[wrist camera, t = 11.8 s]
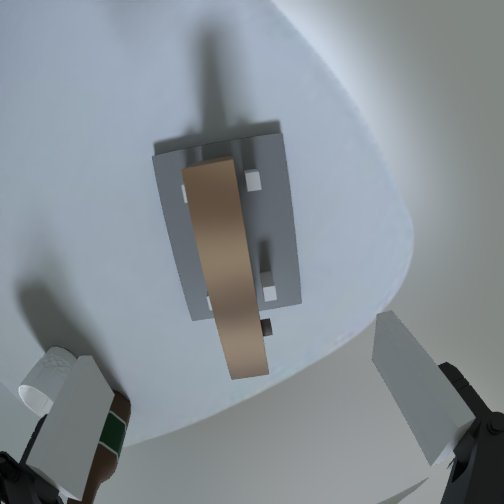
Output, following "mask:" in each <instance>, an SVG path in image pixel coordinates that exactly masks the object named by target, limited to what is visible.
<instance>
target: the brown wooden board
mask: <svg viewBox="0 0 504 504" xmlns="http://www.w3.org/2000/svg"><path fill="white" fill-rule="evenodd" d="M181 171H182V177H183V182H184V187H185V192H186V197H187V202H188V207H189V212H190V216H191V221H192V226H193V230H194V235H195V239H196V244H197V248H198V253H199V257H200V261H201V266H202V270H203V274H204V278H205V282H206V287H207V291H208V295H209V299H210V303H211V306H212V310H213V314H214V318H215V322H216V326H217V329H218V333H219V337H220V341H221V344H222V348H223V351H224V355H225V359H226V362H227V366H228V369H229V372H230V376H231V379H232V380H233V379H241V378H248V377H255V376H261V375H267V374H269V370H268V364H267V358H266V352H265V346H264V340H263V336H269V335H273V334H272V327H271V322H270V318H269V319H263V320H260V316H259V310H258V303H257V297H256V291H255V285H254V280H253V274H252V268H251V262H250V256H249V250H248V244H247V238H246V232H245V226H244V220H243V214H242V207H241V201H240V195H239V189H238V183H237V177H236V171H235V165H234V159H233V155H230V156H224V157H218V158H213V159H207V160H202V161H200V162H197V163H195V164H193V165H190V166H188V167H186V168H183V169H181Z"/></svg>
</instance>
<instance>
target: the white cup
mask: <svg viewBox="0 0 504 504" xmlns="http://www.w3.org/2000/svg"><path fill="white" fill-rule="evenodd" d="M76 361H77V359H76V357H75V356H74V355H73V354H72V353H70V352H69V351H67V350H66V349H64V348H61V347H57V346H56V347H51V348H50V349H49V350H48V351H47V353H46V354H45V355H44V356H43V357H42V358H41V359H40V360H39V361H38V362H37V364H36V365H35V366H34V367H33V368H32V370H31V371H30V372H29V374H28V375H27V376H26V378H25V379H24V380H23V382H22V383H21V385H20V386H19V388H18V391H19V395H20V397H21V398H22V400H23V401H24V403H25V404H26V405H27V406H28V407H29V408H30V409H31V410H32V411H33V412H34V413H36V414H37V415H39V416H40V417H43V416H44V415H45V414H48V413H49V411H50V409H51V407H52V405H53V403H54V401H55V399H56V397H57V395H58V394H59V392H60V390H61V388H62V386H63V384H64V382H65V381H66V379H67V377H68V375H69V373H70V372H71V370H72V368H73V366H74V364H75V363H76Z"/></svg>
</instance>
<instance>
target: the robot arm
mask: <svg viewBox="0 0 504 504" xmlns="http://www.w3.org/2000/svg"><path fill="white" fill-rule="evenodd" d="M372 361H373V363H374V364H375V366H376V368H377V369H378V371H379V373H380V375H381V376H382V378H383V379H384V382H385V383H386V385H387V387H388V389H389V390H390V392H391V394H392V396H393V397H394V399H395V401H396V403H397V405H398V406H399V408H400V410H401V412H402V414H403V415H404V417H405V419H406V421H407V423H408V425H409V427H410V428H411V430H412V432H413V434H414V436H415V437H416V439H417V442H418V443H419V445H420V447H421V449H422V451H423V453H424V455H425V457H426V459H427V461H428V463H429V465H430V467H432V466H434V465H436V464H438V463H439V462H442V461H443V460H445V459H447V458H448V457H449V456H450V454H451V453H452V452H454V454H455V455H456V457H455V458H454V459H453V460H452V462H451V463H450V464H449V466H448V468H447V469H450V468H451V467H452V470H451V473H450V476H449V480H448V483H447V486H446V489H445V492H444V495H443V498H442V501H441V503H440V504H504V414H503V413H500V412H492V411H491V410H490V409H489V408H488V407H487V406H486V404H485V403H484V402H483V400H482V399H481V398H480V396H479V395H478V394H477V392H476V391H475V390H474V389H473V387H472V386H471V385H469V382H468V381H467V380H466V379H465V378H464V376H463V375H462V374H461V373H460V371H459V370H458V369H457V368H456V367H454V366H453V365H451V364H449V363H448V362H445V363H443V364H440V365H438V366H437V365H436V363H435V362H434V361H433V359H432V358H431V357H430V356H429V354H428V353H427V352H426V351H425V350H424V348H423V347H422V346H421V345H420V343H419V342H418V341H417V340H416V338H415V337H414V336H413V335H412V334H411V333H410V331H409V330H408V329H407V328H406V327H405V326H404V324H403V323H402V322H401V321H400V319H399V318H398V317H397V316H396V315H395V313H394V312H393V311H392V310H391V311H387V312H383V313H380V314H377V318H376V329H375V339H374V347H373V354H372ZM114 395H115V394H114V393H113V391H112V390H111V388H110V386H109V385H108V383H107V382H106V380H105V378H104V376H103V375H102V373H101V371H100V370H99V368H98V366H97V364H96V363H95V361H94V359H93V357H92V355H90V356H79V358H78V359H77V361H76V363H75V364H74V366H73V368H72V370H71V372H70V373H69V375H68V377H67V379H66V381H65V382H64V384H63V386H62V388H61V390H60V392H59V394H58V395H57V397H56V399H55V401H54V403H53V405H52V407H51V409H50V411H49V413H48V414H45V415H44V416H43V417H42V418H41V419H40V420H39V422H38V424H37V426H36V428H35V432H33V434H32V436H31V437H32V438H31V439H30V440H29V443H28V445H27V447H26V449H25V451H24V454H23V456H22V458H21V460H20V463H17V462H16V461H15V460H14V459H13V458H12V457H11V456H10V455H9V454H8V453H7V452H4V451H1V452H0V504H1V501H2V502H4V503H5V504H64V503H63V501H62V499H61V498H60V496H58V493H59V491H60V492H61V493H62V494H64V495H65V496H67V497H69V498H72V499H75V500H79V501H82V497H83V493H84V489H85V485H86V482H87V478H88V475H89V471H90V468H91V464H92V461H93V458H94V454H95V451H96V448H97V445H98V442H99V439H100V436H101V433H102V430H103V427H104V424H105V421H106V418H107V415H108V412H109V409H110V406H111V404H112V401H113V398H114Z"/></svg>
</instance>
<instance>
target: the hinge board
mask: <svg viewBox="0 0 504 504" xmlns="http://www.w3.org/2000/svg"><path fill="white" fill-rule="evenodd" d="M230 155H233V159H234V165H235V171H236V177H237V183H238V189H239V195H240V201H241V207H242V214H243V220H244V226H245V232H246V238H247V244H248V250H249V256H250V262H251V268H252V274H253V280H254V285H255V291H256V297H257V303H258V310H259V311H262V310H268V309H274V308H280V307H285V306H291V305H296V304H301V303H302V300H301V288H300V276H299V266H298V255H297V246H296V236H295V227H294V218H293V210H292V201H291V193H290V185H289V177H288V170H287V162H286V155H285V148H284V141H283V135H282V133H277V134H269V135H261V136H254V137H247V138H240V139H234V140H228V141H222V142H217V143H211V144H206V145H201V146H196V147H191V148H186V149H181V150H177V151H172V152H168V153H164V154H159V155H155V156H152V161H153V166H154V171H155V176H156V181H157V186H158V191H159V195H160V200H161V205H162V209H163V214H164V218H165V222H166V227H167V231H168V235H169V239H170V243H171V247H172V251H173V255H174V259H175V263H176V266H177V270H178V274H179V277H180V281H181V285H182V288H183V292H184V295H185V299H186V302H187V306H188V309H189V312H190V316H191V319H192V321H195V320H203V319H210V318H214V314H213V310H212V306H211V303H210V299H209V295H208V291H207V287H206V282H205V278H204V274H203V270H202V266H201V261H200V257H199V253H198V248H197V244H196V239H195V235H194V230H193V226H192V221H191V216H190V212H189V207H188V202H187V197H186V192H185V187H184V182H183V177H182V171H181V169H183V168H186V167H188V166H190V165H193V164H195V163H197V162H200V161H202V160H207V159H213V158H218V157H224V156H230Z"/></svg>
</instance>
